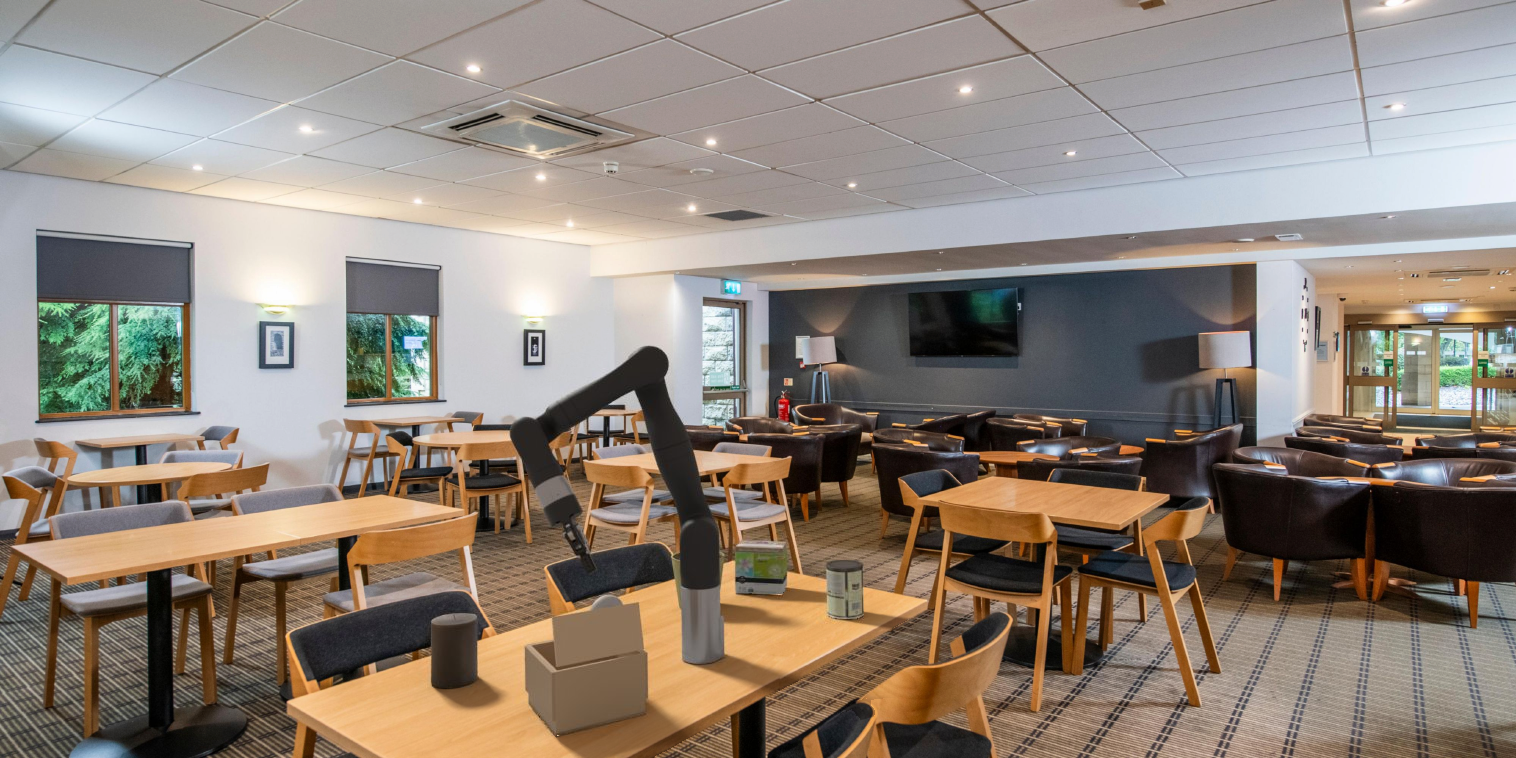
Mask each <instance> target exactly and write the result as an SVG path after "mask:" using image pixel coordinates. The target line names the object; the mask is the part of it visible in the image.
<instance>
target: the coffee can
mask: <svg viewBox="0 0 1516 758" xmlns="http://www.w3.org/2000/svg"><path fill="white" fill-rule="evenodd" d="M825 567H826V573H825V574H826V605H827V607H826V610H827V611H826V615H827V616H828V617H829V616H830V617H829V618H831V617H832V618H831V619H834V618H837V619H836V620H840V619H853V620H857V618H858V619H861V618H863V617H864V616H863V615H865V613H864V611H865V609H864V576H863V575H864V571H863V568H864V563H863V562H861V561H858V560H854V559H853V560H852V559H836V560H830V561H828V562H826V563H825ZM862 616H863V617H862ZM860 617H861V618H860Z"/></svg>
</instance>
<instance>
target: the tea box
mask: <svg viewBox="0 0 1516 758" xmlns="http://www.w3.org/2000/svg"><path fill="white" fill-rule="evenodd" d="M734 550H735V551H734V561H735V562H734V587H735V589H734V590H735V592H734V593H735V594H749V593H752V595H754V593H756V594H755V595H765V594H783V595H784V593H785V591H786V589H787V587H788V542H787V541H773V540H772V541H770V540H769V541H767V540H747V539H745V540H742V539H741V540H740V541H739V542H738V544H737V545H736V546H735V548H734ZM786 586H787V587H786ZM785 588H786V589H785ZM783 592H784V593H783Z"/></svg>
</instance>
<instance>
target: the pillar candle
mask: <svg viewBox="0 0 1516 758" xmlns="http://www.w3.org/2000/svg"><path fill="white" fill-rule="evenodd" d="M430 623H431V625H430V635H431V636H430V652H431V653H430V683H431V686H433V687H435V688H437V689H458V688H461V687H465V686H467V685H468V686H469V685H471V684H473V683H475V682H476V681H477V680H478V676H479V674H478V665H479V664H478V616H477V615H476V614H474V613H469V612H468V613H467V612H466V613H465V612H464V613H463V612H460V613H454V612H452V613H448V614H443V615H439V616H436V617H434V618H433V619H432V620H431V622H430Z"/></svg>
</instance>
